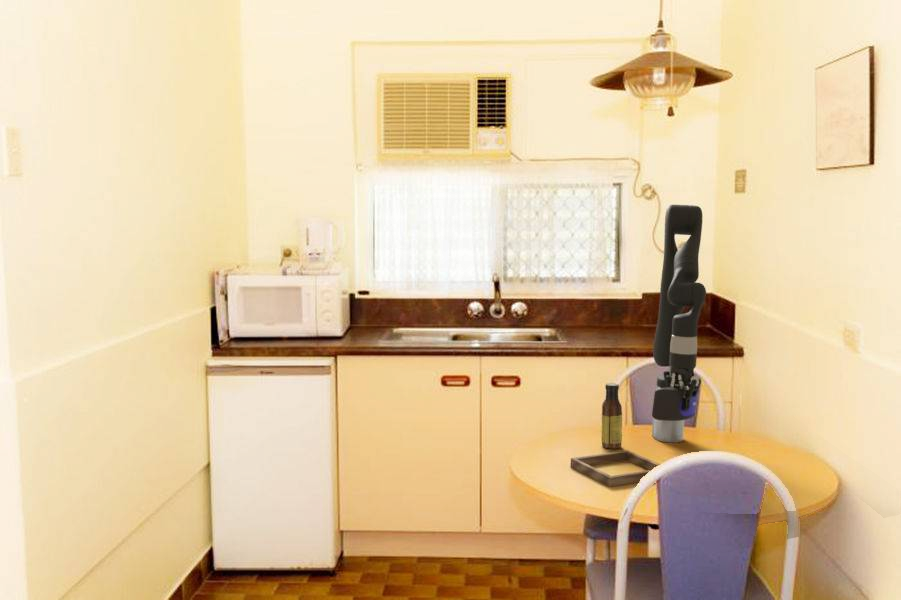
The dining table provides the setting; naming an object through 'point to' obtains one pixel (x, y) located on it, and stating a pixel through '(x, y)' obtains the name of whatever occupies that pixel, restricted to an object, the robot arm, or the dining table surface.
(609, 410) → the sauce bottle
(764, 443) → the dining table surface
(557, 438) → the dining table surface
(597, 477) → the walnut tray
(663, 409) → the black two-tone rounded block
